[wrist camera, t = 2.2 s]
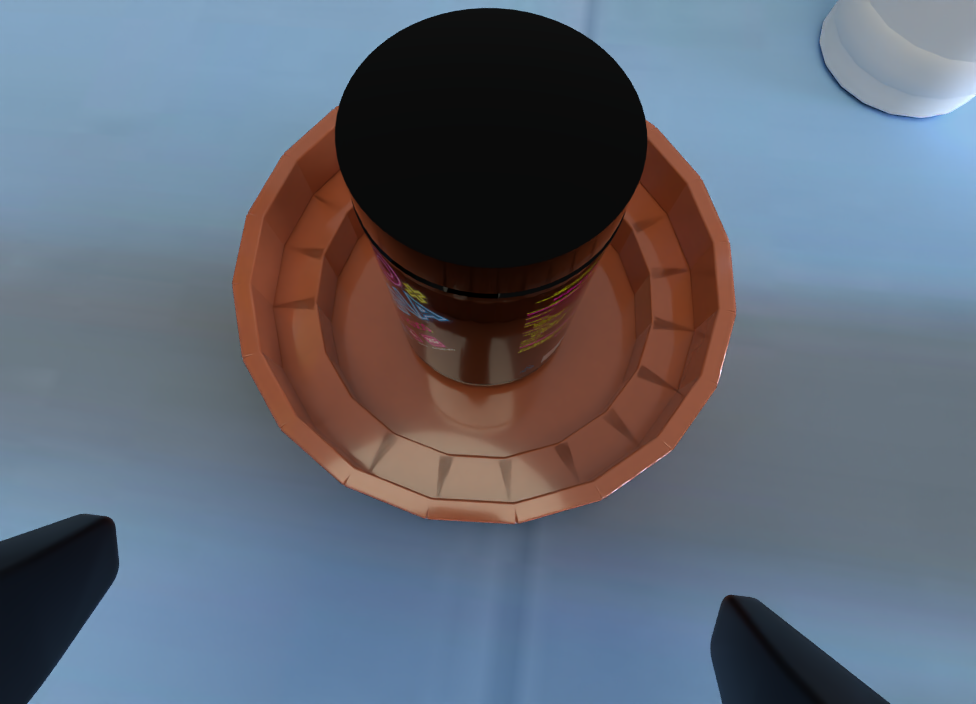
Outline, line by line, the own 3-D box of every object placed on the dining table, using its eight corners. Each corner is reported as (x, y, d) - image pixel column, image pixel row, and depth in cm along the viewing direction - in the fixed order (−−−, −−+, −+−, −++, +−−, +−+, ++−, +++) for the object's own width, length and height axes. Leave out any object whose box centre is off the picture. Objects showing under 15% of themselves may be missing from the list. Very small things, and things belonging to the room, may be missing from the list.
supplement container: (446, 210, 23) (422, -31, 13) (594, 272, 22) (691, 68, 12) (369, 347, 21) (271, 190, 11) (528, 420, 20) (579, 323, 10)
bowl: (320, 576, 19) (273, 593, 14) (256, 188, 23) (207, 113, 19) (746, 456, 20) (819, 438, 16) (608, 114, 25) (636, 30, 21)
